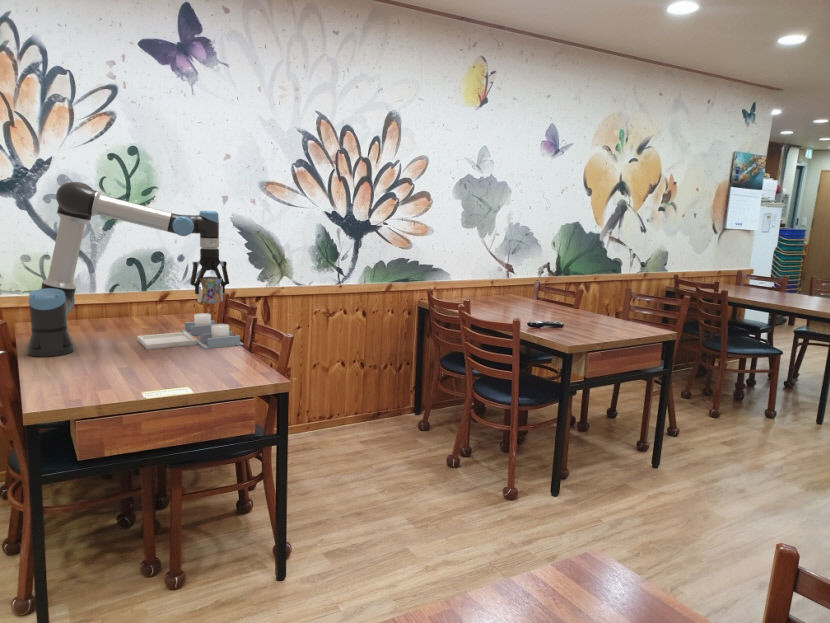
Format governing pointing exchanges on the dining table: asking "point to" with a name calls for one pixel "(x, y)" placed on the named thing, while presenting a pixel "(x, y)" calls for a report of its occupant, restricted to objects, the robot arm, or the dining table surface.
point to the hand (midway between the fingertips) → (210, 301)
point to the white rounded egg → (219, 330)
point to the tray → (166, 340)
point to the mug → (210, 290)
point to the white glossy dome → (202, 319)
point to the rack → (210, 336)
